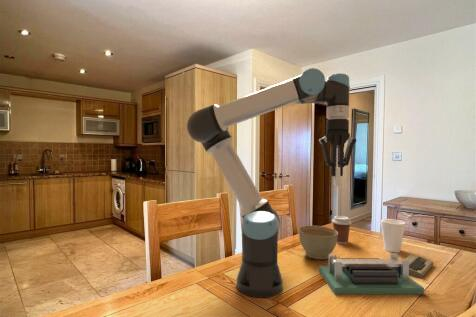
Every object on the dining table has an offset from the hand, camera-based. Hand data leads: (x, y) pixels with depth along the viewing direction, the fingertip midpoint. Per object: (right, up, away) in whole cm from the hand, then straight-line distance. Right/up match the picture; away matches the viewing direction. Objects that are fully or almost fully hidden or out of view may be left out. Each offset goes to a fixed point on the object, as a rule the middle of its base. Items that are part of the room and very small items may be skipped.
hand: (336, 185), depth 96 cm
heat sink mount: (+9, -33, -4) cm, 34 cm away
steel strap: (+9, -27, -4) cm, 29 cm away
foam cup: (+35, -32, +26) cm, 54 cm away
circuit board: (+9, -33, -4) cm, 34 cm away
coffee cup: (+16, -32, +37) cm, 51 cm away
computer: (+33, -33, +7) cm, 47 cm away
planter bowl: (-1, -32, +19) cm, 37 cm away
